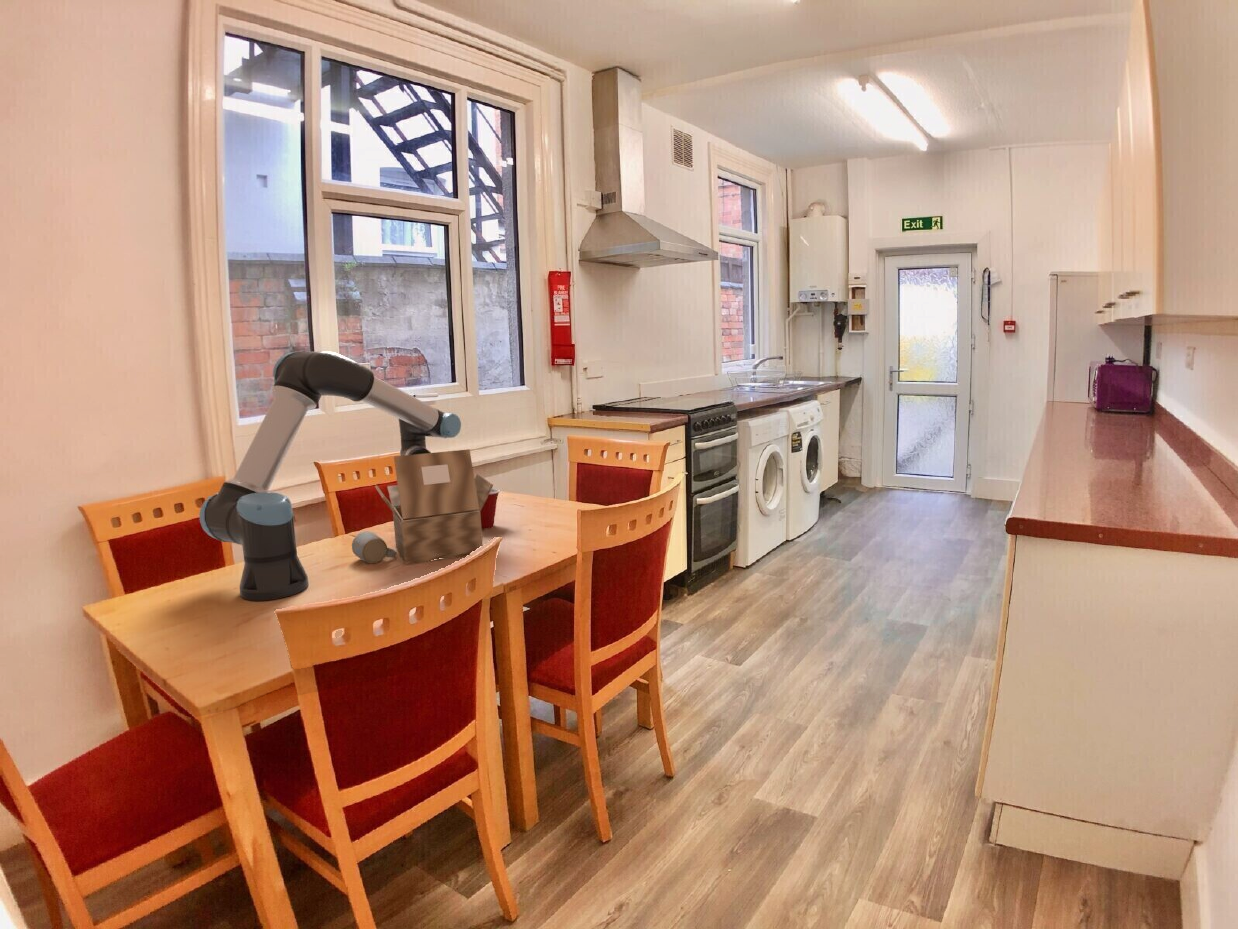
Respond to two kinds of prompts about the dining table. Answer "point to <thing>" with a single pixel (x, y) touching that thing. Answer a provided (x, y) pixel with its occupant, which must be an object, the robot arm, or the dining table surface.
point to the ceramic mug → (371, 547)
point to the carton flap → (436, 483)
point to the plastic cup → (489, 509)
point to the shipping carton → (437, 529)
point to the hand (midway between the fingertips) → (433, 471)
